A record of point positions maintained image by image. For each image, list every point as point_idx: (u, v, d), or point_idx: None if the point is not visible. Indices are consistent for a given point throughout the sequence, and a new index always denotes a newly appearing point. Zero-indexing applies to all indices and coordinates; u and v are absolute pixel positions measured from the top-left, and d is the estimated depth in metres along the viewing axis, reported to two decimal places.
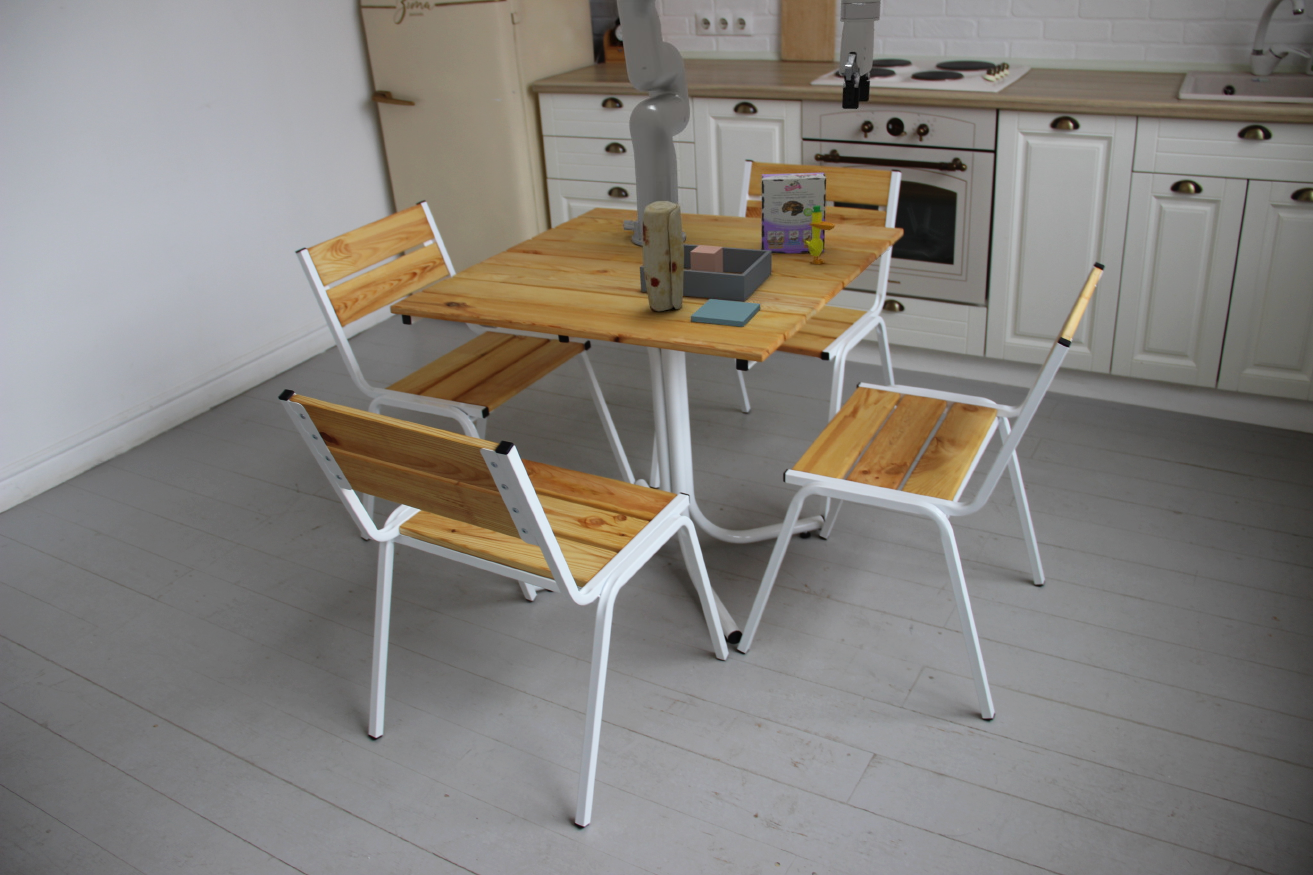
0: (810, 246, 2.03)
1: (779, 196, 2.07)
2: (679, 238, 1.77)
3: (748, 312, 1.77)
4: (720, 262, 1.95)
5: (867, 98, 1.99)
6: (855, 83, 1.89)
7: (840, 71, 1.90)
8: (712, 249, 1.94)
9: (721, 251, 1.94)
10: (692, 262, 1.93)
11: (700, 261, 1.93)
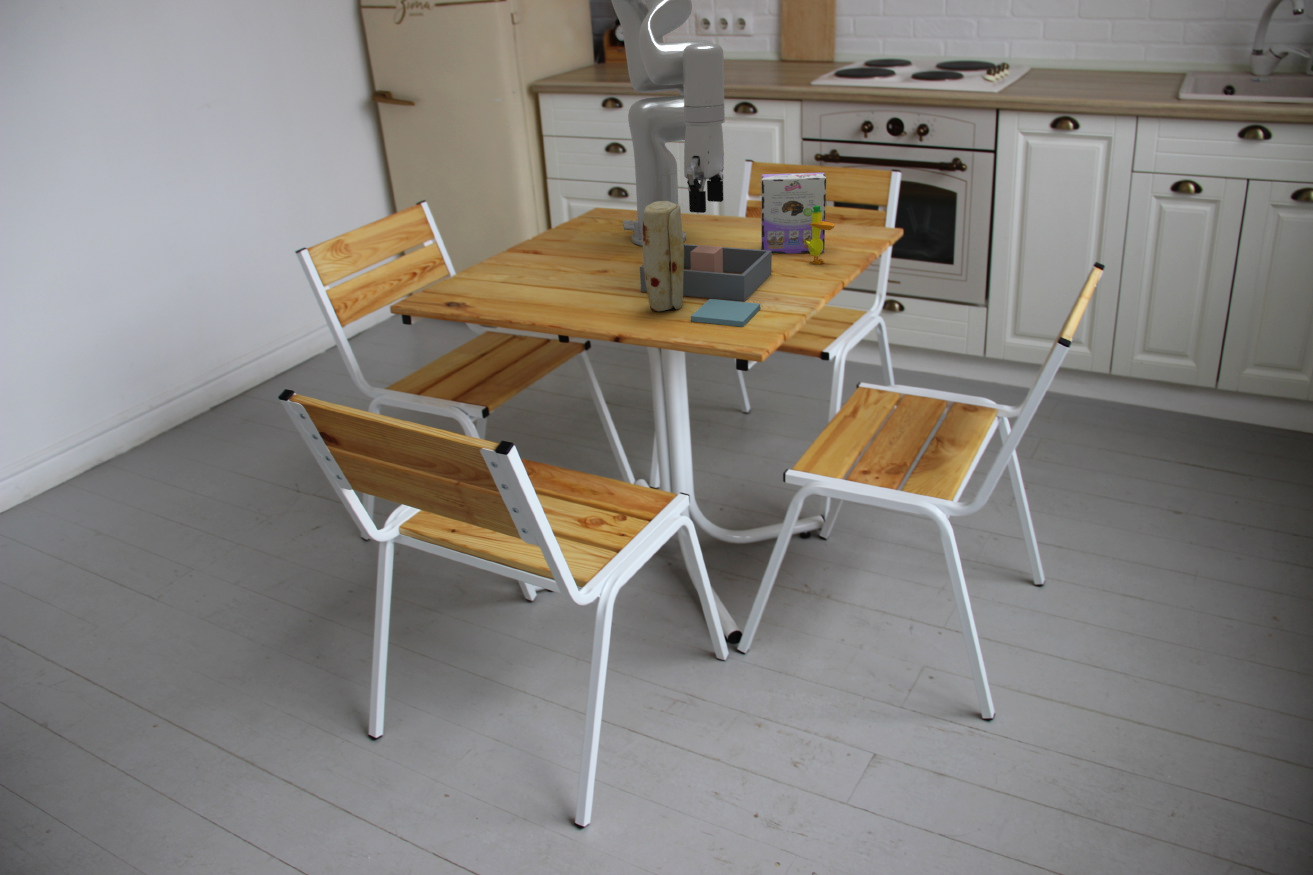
0: (810, 246, 2.03)
1: (779, 196, 2.07)
2: (679, 238, 1.77)
3: (748, 312, 1.77)
4: (720, 262, 1.95)
5: (721, 198, 1.92)
6: (700, 187, 1.82)
7: (685, 174, 1.83)
8: (712, 249, 1.94)
9: (721, 251, 1.94)
10: (692, 262, 1.93)
11: (700, 261, 1.93)
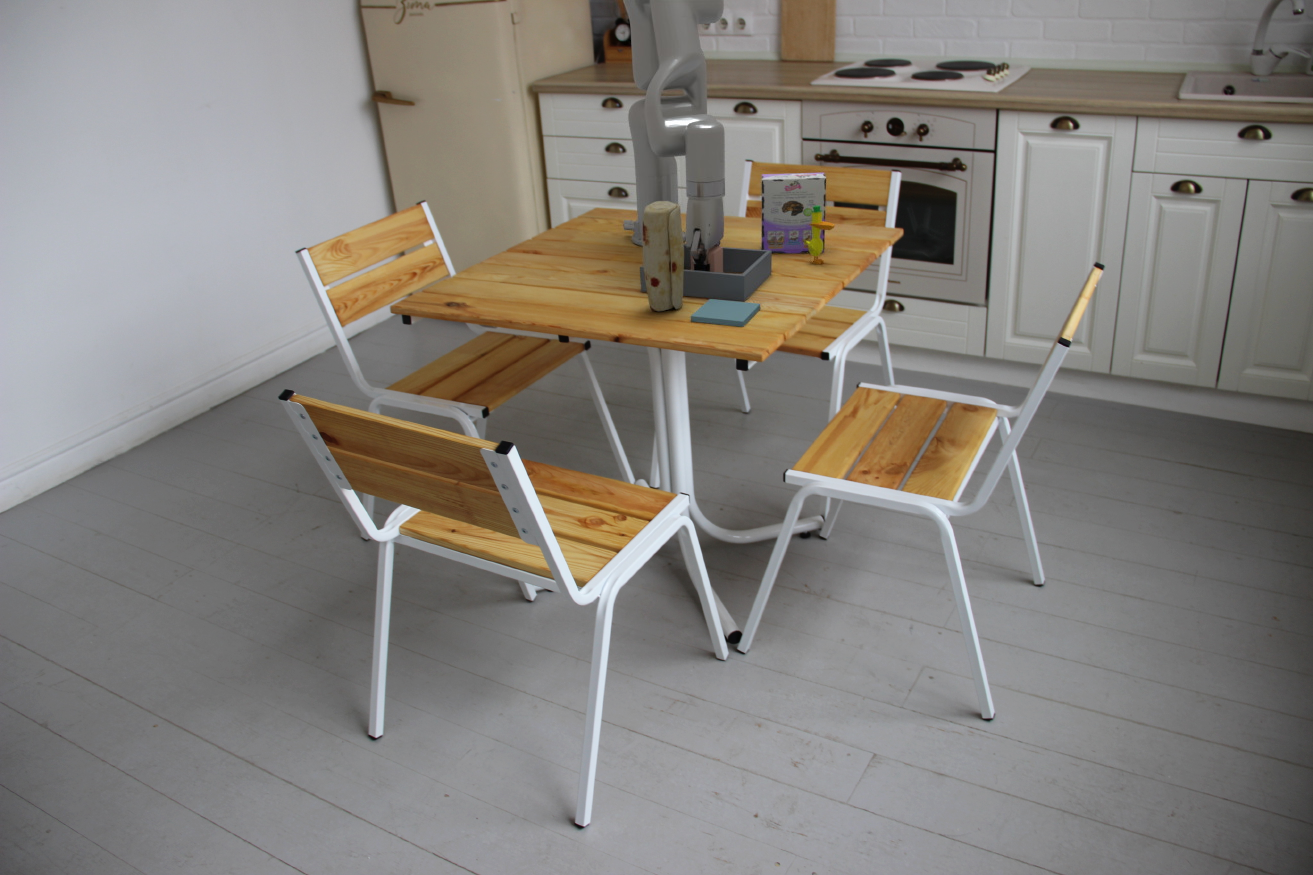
0: (810, 246, 2.03)
1: (779, 196, 2.07)
2: (679, 238, 1.77)
3: (748, 312, 1.77)
4: (720, 262, 1.95)
5: None
6: (704, 262, 1.91)
7: (686, 245, 1.90)
8: (712, 248, 1.94)
9: (721, 251, 1.94)
10: (692, 262, 1.93)
11: None
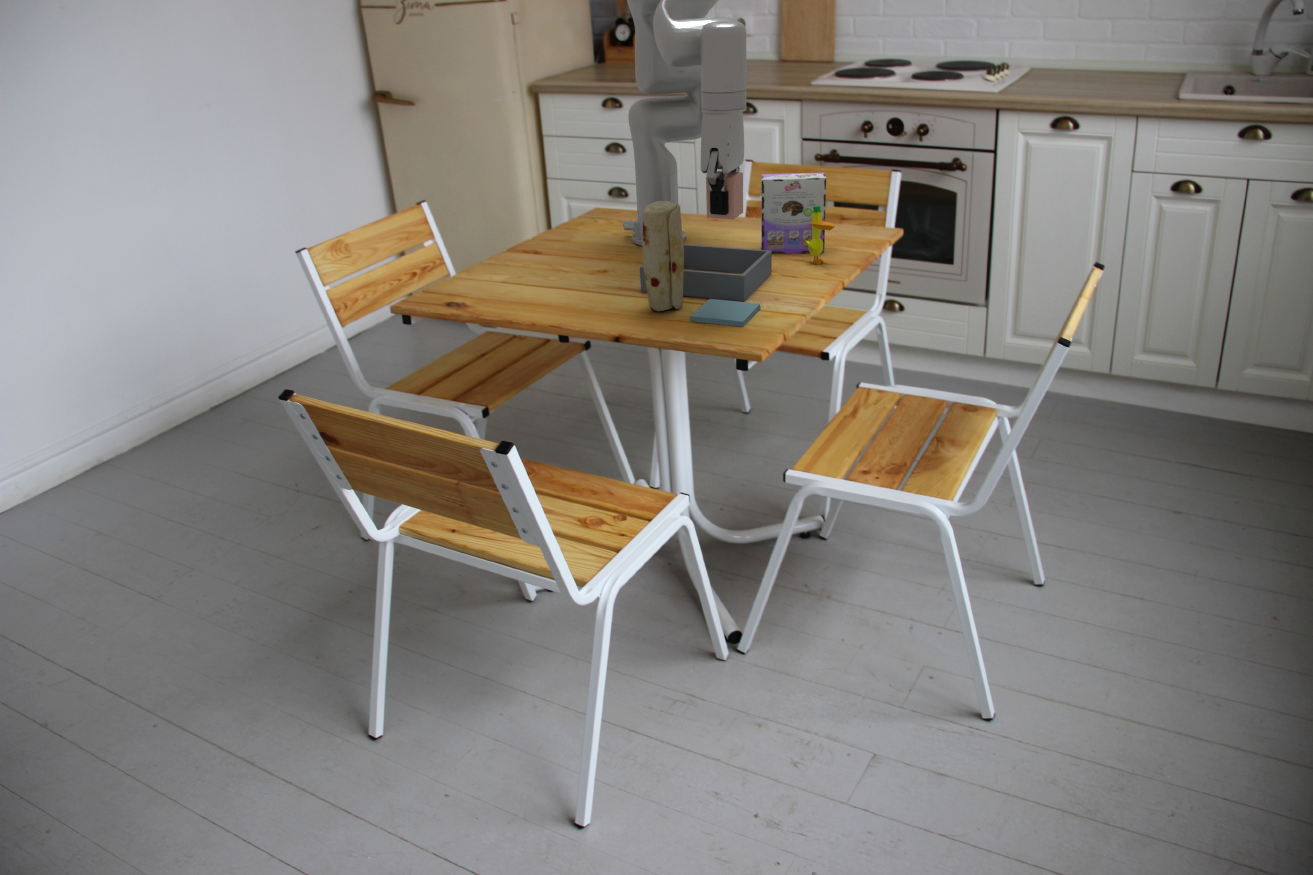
0: (810, 246, 2.03)
1: (779, 196, 2.07)
2: (679, 238, 1.77)
3: (748, 312, 1.77)
4: (740, 190, 1.69)
5: None
6: (722, 188, 1.65)
7: (702, 168, 1.64)
8: (731, 174, 1.68)
9: (741, 177, 1.69)
10: (708, 189, 1.68)
11: None
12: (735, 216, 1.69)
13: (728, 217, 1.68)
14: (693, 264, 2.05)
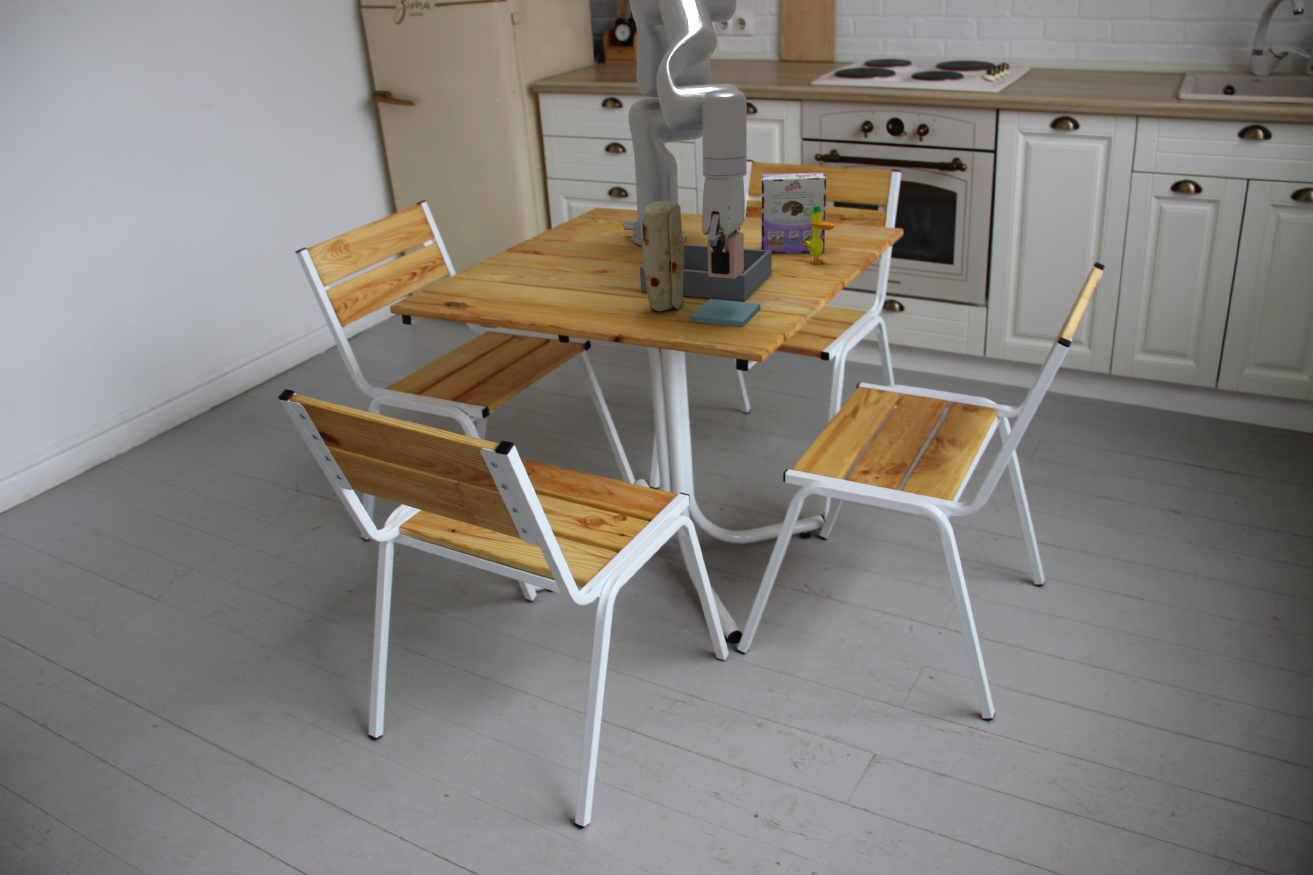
0: (810, 246, 2.03)
1: (779, 196, 2.07)
2: (679, 238, 1.77)
3: (748, 312, 1.77)
4: (741, 250, 1.74)
5: None
6: (723, 250, 1.69)
7: (703, 230, 1.68)
8: (732, 235, 1.72)
9: (742, 237, 1.73)
10: (709, 250, 1.72)
11: None
12: (736, 275, 1.73)
13: (729, 276, 1.73)
14: (693, 264, 2.05)
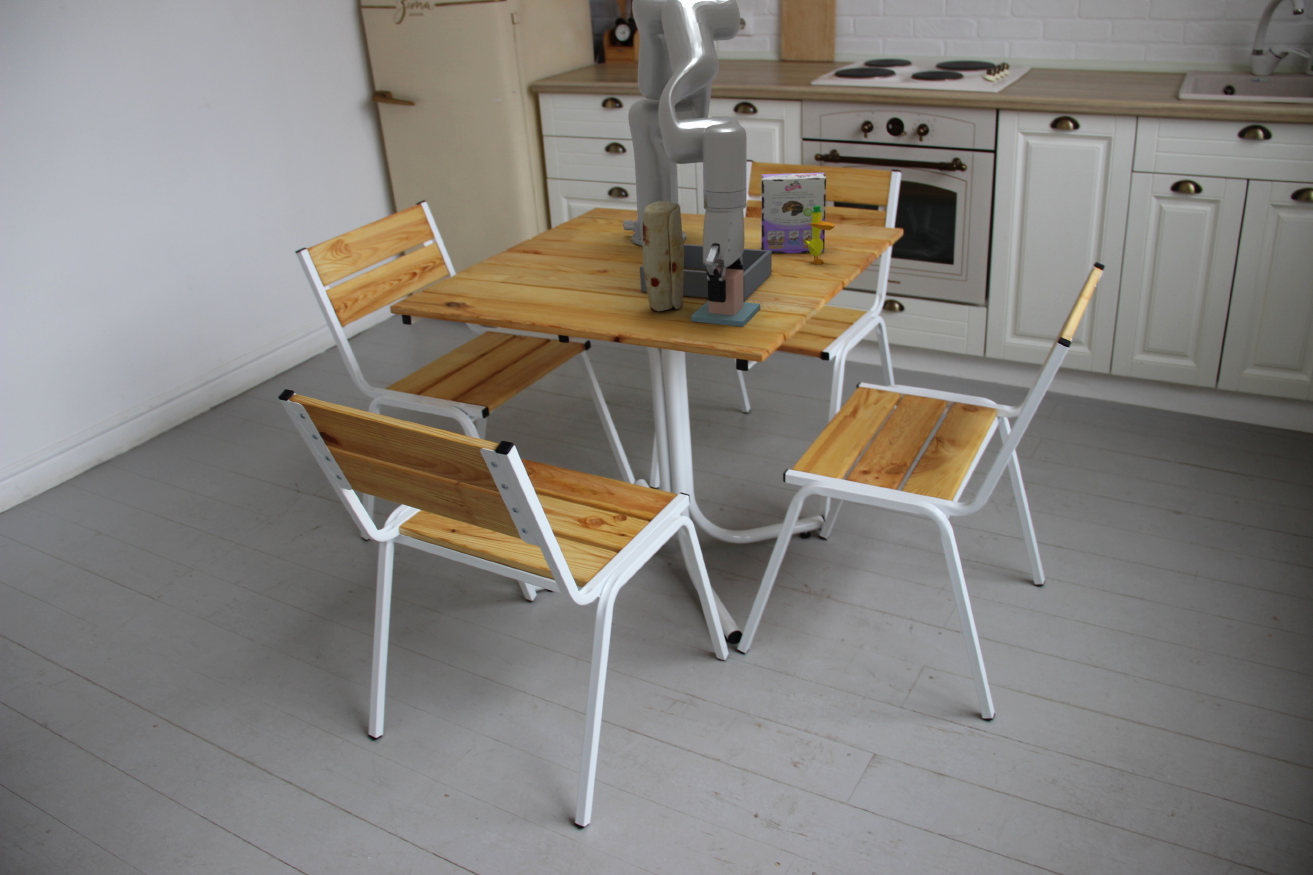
0: (810, 246, 2.03)
1: (779, 196, 2.07)
2: (679, 238, 1.77)
3: (748, 312, 1.77)
4: (740, 287, 1.77)
5: None
6: (719, 277, 1.70)
7: (704, 262, 1.71)
8: (732, 272, 1.76)
9: (742, 275, 1.76)
10: None
11: None
12: (735, 312, 1.76)
13: (728, 313, 1.76)
14: (693, 264, 2.05)
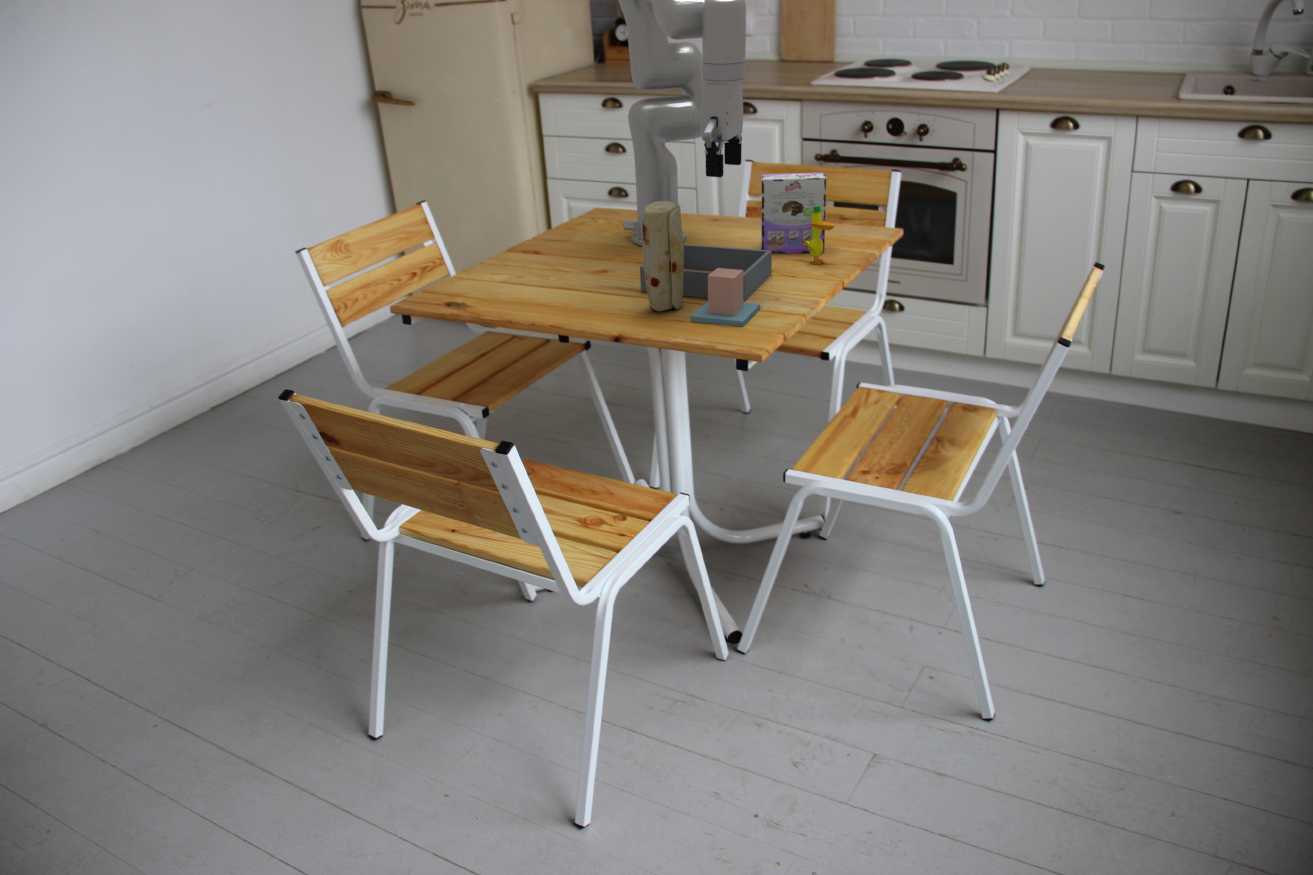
0: (810, 246, 2.03)
1: (779, 196, 2.07)
2: (679, 238, 1.77)
3: (748, 312, 1.77)
4: (740, 287, 1.77)
5: (739, 161, 1.82)
6: (717, 150, 1.72)
7: (702, 136, 1.73)
8: (732, 272, 1.76)
9: (742, 275, 1.76)
10: (709, 287, 1.75)
11: (718, 286, 1.75)
12: (735, 312, 1.76)
13: (728, 313, 1.76)
14: (693, 264, 2.05)
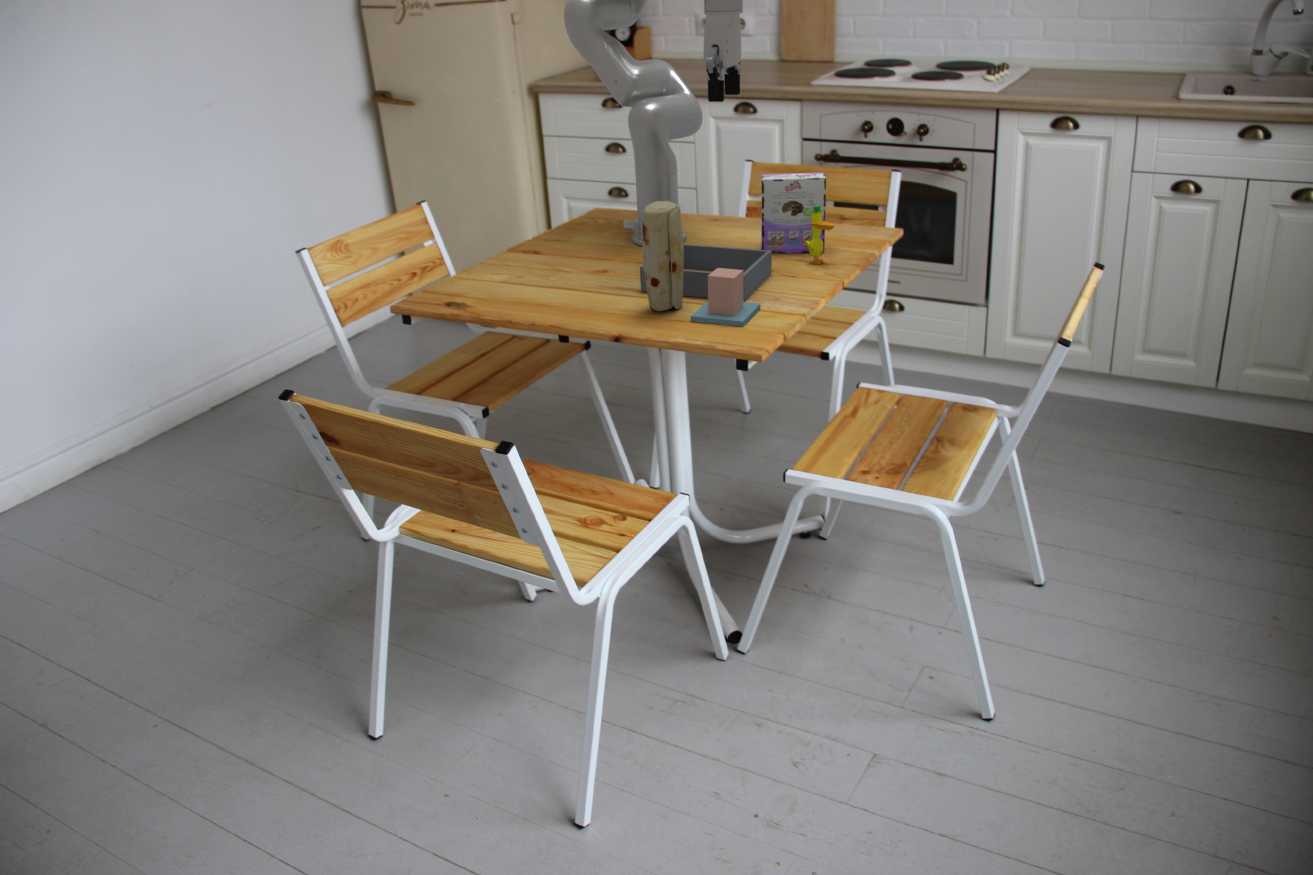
0: (810, 246, 2.03)
1: (779, 196, 2.07)
2: (679, 238, 1.77)
3: (748, 312, 1.77)
4: (740, 287, 1.77)
5: (738, 91, 1.99)
6: (718, 76, 1.89)
7: (704, 64, 1.90)
8: (732, 272, 1.76)
9: (742, 275, 1.76)
10: (709, 287, 1.75)
11: (718, 286, 1.75)
12: (735, 312, 1.76)
13: (728, 313, 1.76)
14: (693, 264, 2.05)
